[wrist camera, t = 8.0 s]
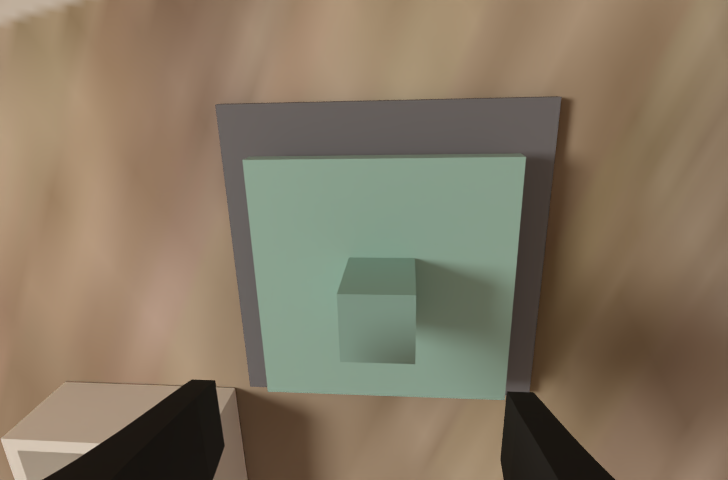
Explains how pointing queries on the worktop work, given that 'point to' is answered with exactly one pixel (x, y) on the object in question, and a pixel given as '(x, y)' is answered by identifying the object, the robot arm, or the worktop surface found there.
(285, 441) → the worktop surface
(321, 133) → the mat
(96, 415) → the storage box
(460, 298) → the lid
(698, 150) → the worktop surface
